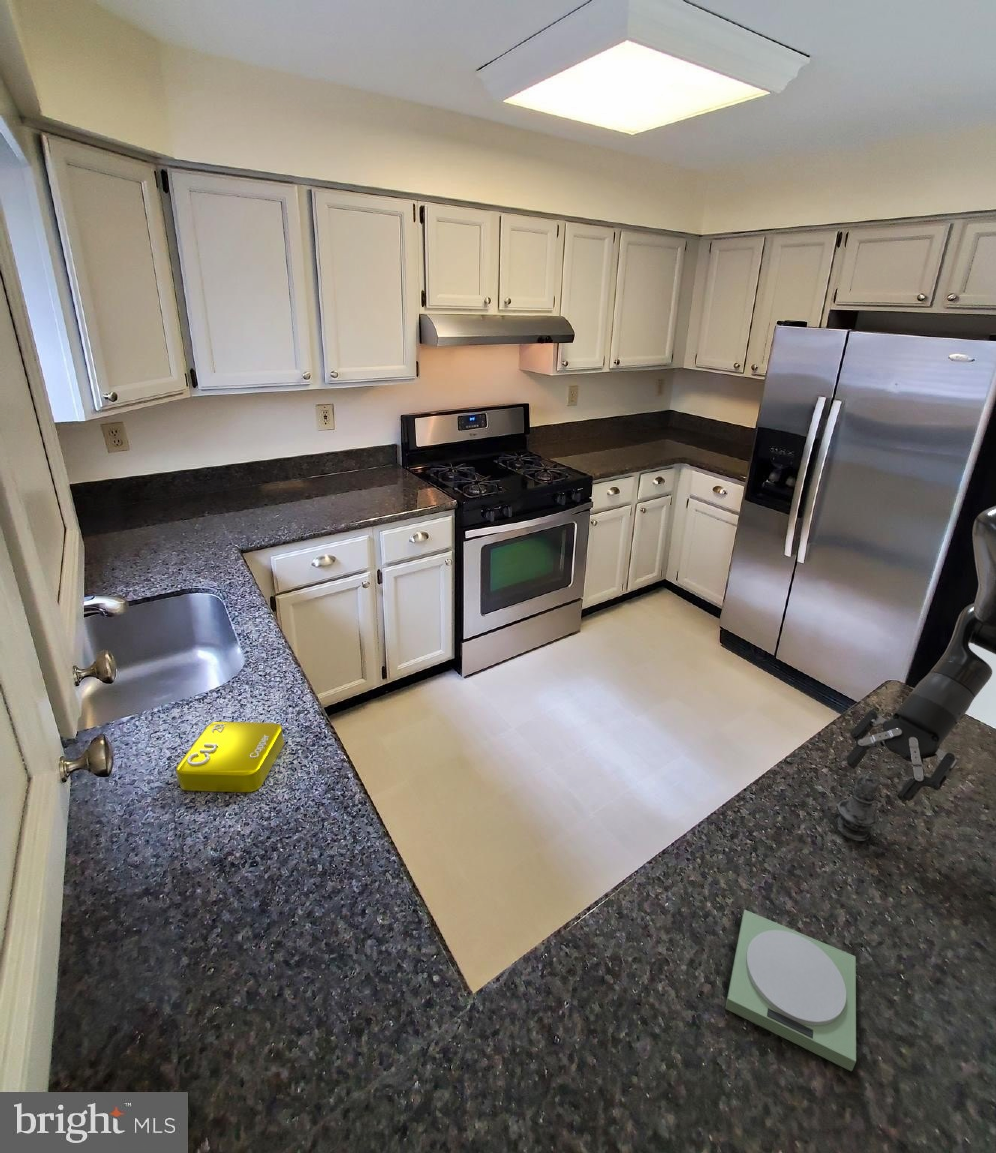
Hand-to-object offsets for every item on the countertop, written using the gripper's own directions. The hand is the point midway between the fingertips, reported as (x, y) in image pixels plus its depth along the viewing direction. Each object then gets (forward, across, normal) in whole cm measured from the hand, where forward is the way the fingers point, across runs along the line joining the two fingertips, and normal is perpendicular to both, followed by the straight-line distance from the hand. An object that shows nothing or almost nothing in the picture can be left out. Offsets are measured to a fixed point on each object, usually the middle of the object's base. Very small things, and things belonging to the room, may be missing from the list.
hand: (874, 782), depth 99 cm
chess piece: (+8, 0, +5) cm, 10 cm away
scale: (+31, +13, -18) cm, 38 cm away
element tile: (+73, -65, -59) cm, 114 cm away
